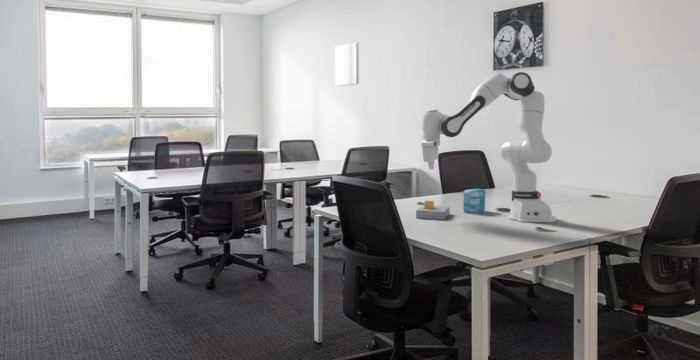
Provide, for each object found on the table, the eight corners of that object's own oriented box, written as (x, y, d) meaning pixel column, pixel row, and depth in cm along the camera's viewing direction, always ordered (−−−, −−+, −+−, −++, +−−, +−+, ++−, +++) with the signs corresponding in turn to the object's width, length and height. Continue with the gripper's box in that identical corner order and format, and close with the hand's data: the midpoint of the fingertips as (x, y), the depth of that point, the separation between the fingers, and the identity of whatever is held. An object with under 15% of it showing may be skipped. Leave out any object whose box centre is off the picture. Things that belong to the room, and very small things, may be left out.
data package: (469, 213, 278) (469, 191, 276) (463, 212, 281) (463, 190, 280) (484, 211, 284) (485, 189, 283) (478, 210, 288) (479, 188, 287)
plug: (433, 215, 273) (434, 200, 272) (432, 216, 269) (432, 201, 268) (426, 214, 274) (426, 199, 273) (424, 216, 271) (424, 200, 270)
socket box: (449, 214, 276) (449, 206, 275) (443, 219, 261) (443, 211, 260) (423, 212, 281) (423, 205, 280) (416, 218, 266) (416, 210, 265)
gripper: (429, 141, 278) (429, 167, 280) (420, 143, 259) (420, 171, 261) (441, 141, 276) (441, 167, 278) (433, 143, 257) (433, 171, 259)
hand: (431, 169), depth 269 cm, fingers closed
